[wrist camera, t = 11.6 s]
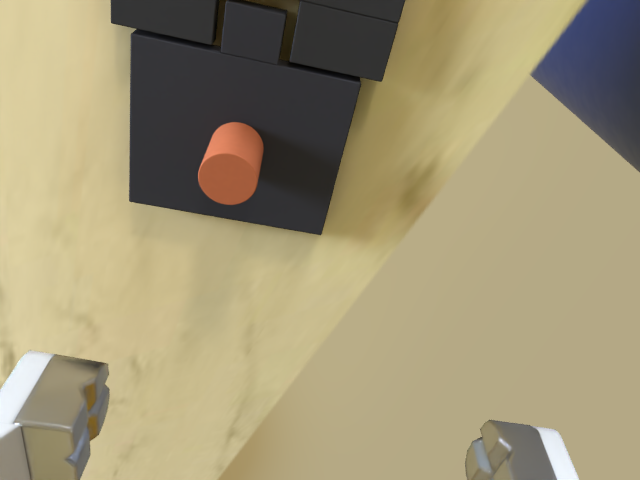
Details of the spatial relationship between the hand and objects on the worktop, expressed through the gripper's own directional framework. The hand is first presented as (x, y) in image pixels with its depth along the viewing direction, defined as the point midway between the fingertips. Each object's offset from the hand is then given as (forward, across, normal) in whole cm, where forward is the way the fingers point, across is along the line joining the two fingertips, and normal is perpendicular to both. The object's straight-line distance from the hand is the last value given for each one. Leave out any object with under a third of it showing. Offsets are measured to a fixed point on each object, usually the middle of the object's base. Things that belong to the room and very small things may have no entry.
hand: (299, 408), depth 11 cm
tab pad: (+21, +4, +3) cm, 22 cm away
